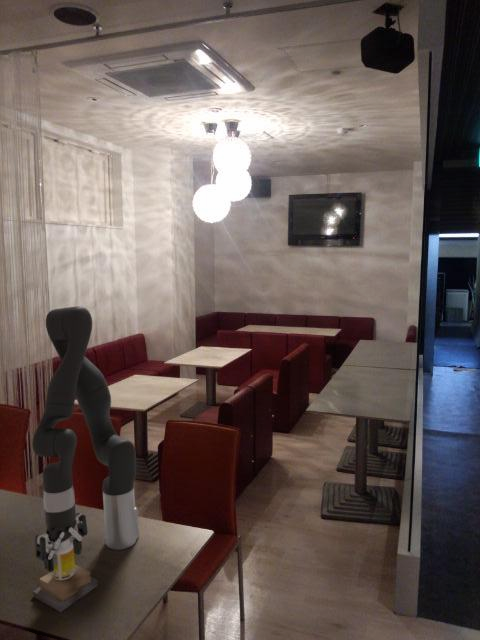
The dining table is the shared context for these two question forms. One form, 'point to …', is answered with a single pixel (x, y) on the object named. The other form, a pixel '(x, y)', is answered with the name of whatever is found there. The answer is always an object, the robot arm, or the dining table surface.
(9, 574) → the dining table surface
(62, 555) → the supplement bottle
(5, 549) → the dining table surface
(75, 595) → the pedestal
